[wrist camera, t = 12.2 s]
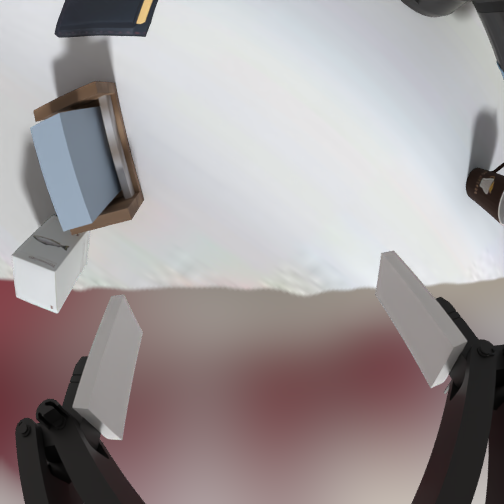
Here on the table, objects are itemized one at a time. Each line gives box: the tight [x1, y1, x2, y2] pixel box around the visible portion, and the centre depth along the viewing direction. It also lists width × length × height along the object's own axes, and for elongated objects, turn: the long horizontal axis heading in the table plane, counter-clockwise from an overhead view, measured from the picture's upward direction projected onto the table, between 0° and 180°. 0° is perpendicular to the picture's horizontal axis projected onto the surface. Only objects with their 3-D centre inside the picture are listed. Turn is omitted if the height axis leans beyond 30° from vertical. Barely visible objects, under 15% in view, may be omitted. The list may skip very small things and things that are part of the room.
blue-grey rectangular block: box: [30, 106, 122, 231], centre depth 28 cm, size 12×4×11 cm, turn 9°
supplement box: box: [12, 215, 90, 313], centre depth 34 cm, size 7×7×13 cm
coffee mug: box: [466, 163, 504, 226], centre depth 37 cm, size 12×9×10 cm
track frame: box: [34, 81, 144, 235], centre depth 31 cm, size 17×9×7 cm, turn 9°
